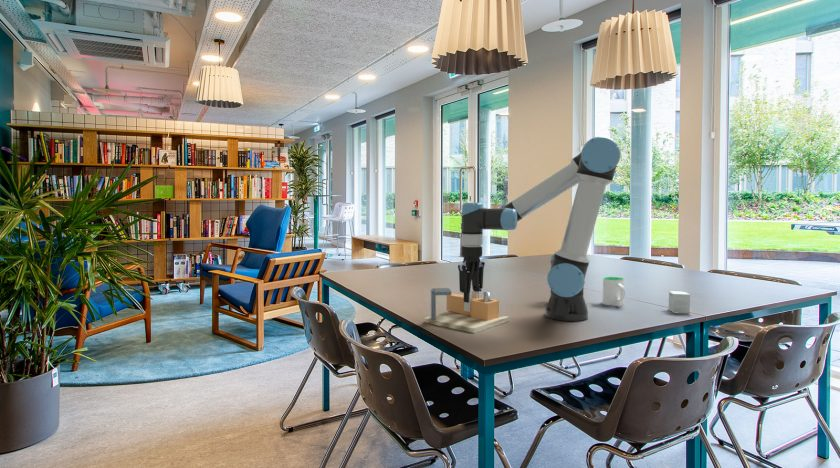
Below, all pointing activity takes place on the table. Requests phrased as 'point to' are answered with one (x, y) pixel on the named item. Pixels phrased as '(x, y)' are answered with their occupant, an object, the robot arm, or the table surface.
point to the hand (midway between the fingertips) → (471, 309)
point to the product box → (679, 302)
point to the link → (474, 307)
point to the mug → (613, 291)
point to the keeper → (433, 299)
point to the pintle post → (486, 296)
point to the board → (465, 321)
